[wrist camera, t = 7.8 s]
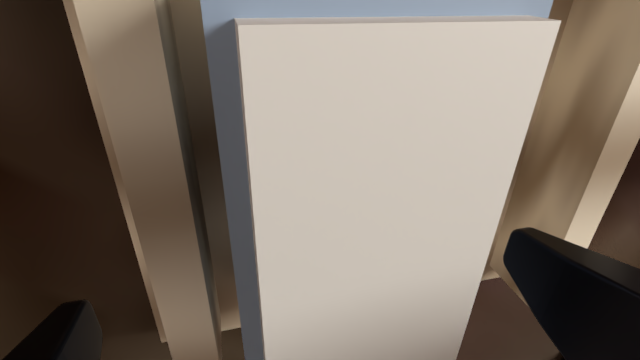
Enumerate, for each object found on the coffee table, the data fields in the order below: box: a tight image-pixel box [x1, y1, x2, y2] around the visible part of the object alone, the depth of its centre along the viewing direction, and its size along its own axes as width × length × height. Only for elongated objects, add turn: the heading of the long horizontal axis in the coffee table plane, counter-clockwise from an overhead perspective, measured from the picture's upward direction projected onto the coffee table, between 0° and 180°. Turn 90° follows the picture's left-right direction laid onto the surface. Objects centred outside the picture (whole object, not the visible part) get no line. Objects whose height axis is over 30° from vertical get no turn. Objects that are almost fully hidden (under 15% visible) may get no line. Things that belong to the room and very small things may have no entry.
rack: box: [63, 0, 640, 360], centre depth 13 cm, size 16×18×4 cm
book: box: [200, 0, 561, 360], centre depth 10 cm, size 11×4×8 cm, turn 179°
